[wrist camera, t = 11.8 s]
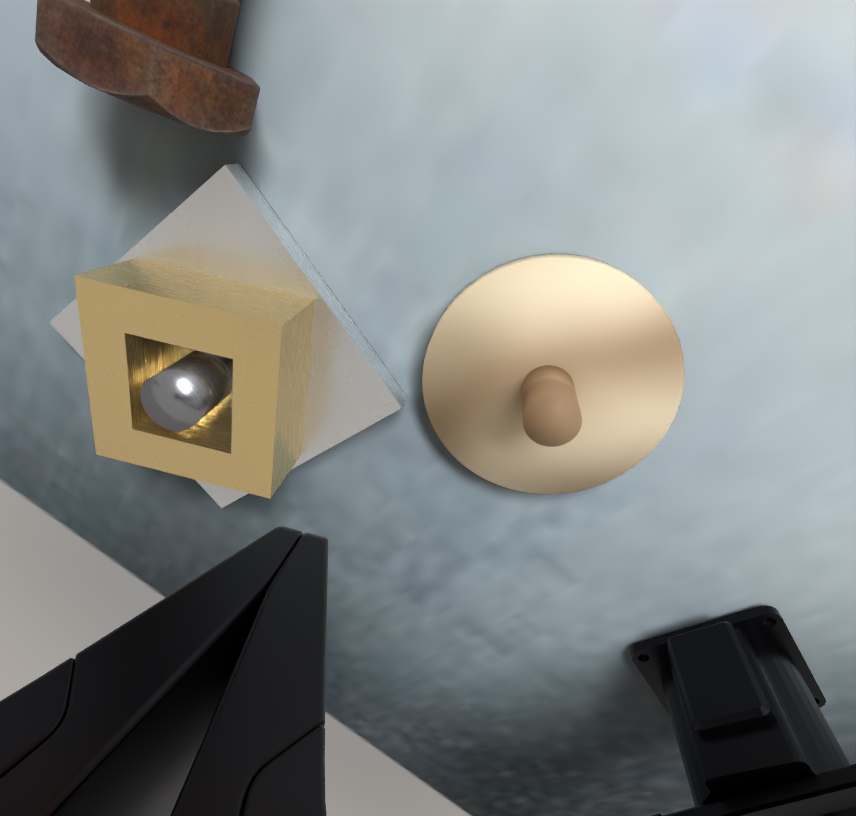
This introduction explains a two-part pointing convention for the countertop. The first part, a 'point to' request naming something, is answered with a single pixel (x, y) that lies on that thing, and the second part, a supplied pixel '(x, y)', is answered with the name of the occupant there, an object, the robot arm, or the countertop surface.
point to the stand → (552, 374)
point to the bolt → (154, 56)
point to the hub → (266, 267)
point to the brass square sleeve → (207, 332)
